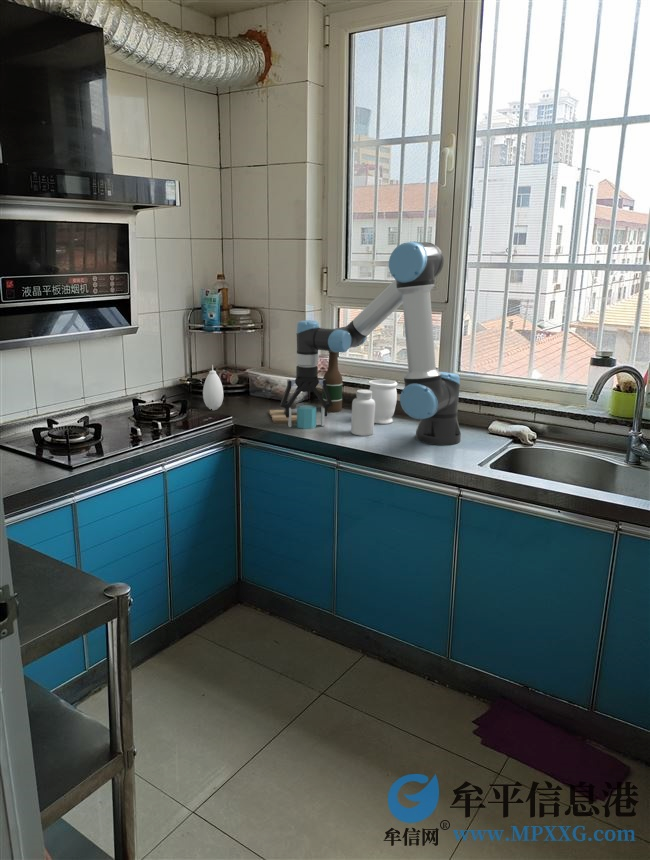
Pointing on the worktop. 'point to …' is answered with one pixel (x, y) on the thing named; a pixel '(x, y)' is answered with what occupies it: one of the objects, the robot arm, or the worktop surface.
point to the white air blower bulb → (213, 391)
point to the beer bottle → (333, 383)
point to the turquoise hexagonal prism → (306, 416)
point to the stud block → (279, 415)
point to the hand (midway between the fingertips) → (306, 425)
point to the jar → (383, 400)
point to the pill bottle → (363, 413)
